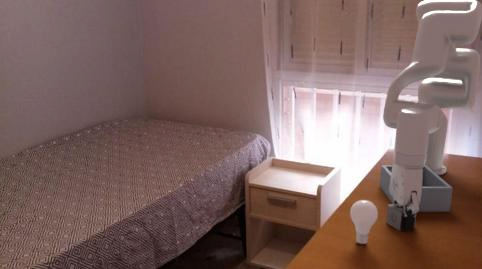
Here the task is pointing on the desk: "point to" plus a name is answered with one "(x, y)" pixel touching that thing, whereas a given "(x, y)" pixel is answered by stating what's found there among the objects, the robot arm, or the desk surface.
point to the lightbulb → (363, 218)
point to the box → (424, 190)
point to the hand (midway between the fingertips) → (402, 223)
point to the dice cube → (395, 215)
